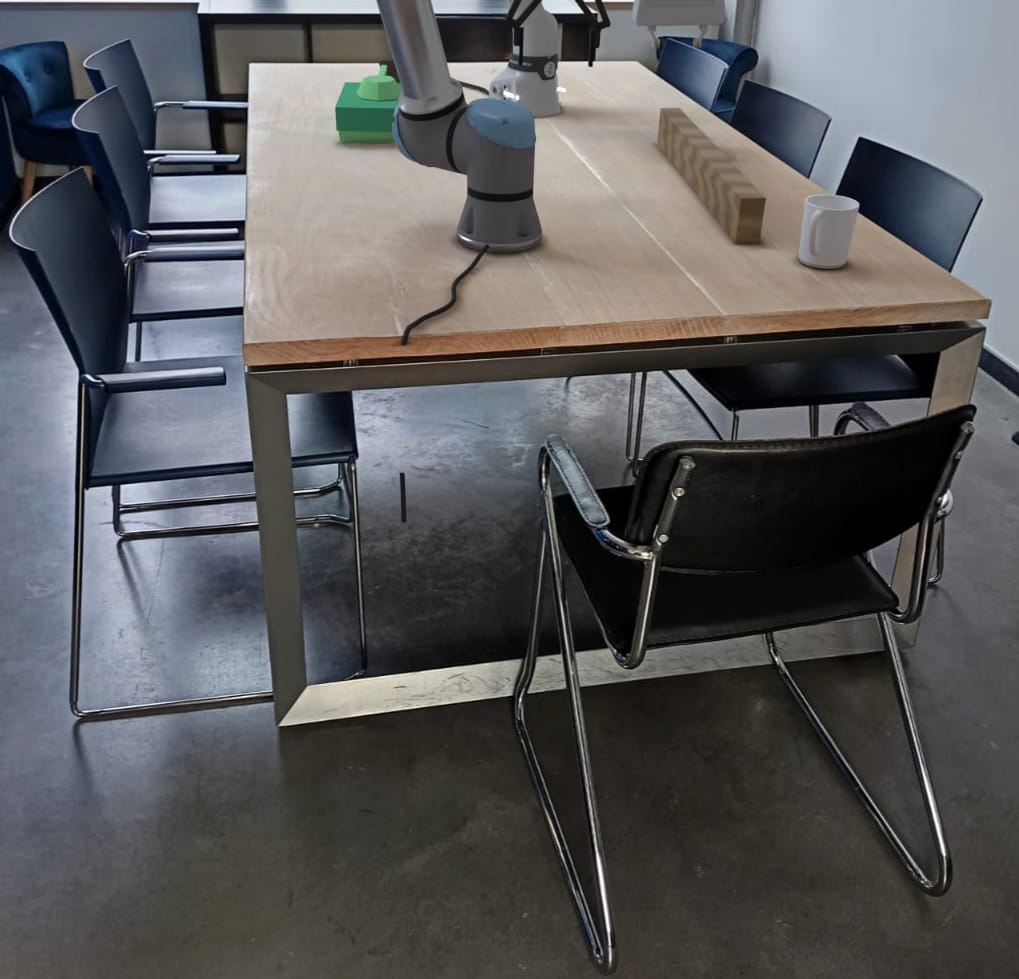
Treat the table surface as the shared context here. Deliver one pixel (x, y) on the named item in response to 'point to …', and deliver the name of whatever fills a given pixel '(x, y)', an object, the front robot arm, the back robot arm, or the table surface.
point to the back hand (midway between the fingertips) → (676, 47)
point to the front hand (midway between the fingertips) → (555, 65)
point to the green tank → (368, 109)
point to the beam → (712, 176)
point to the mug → (827, 230)
